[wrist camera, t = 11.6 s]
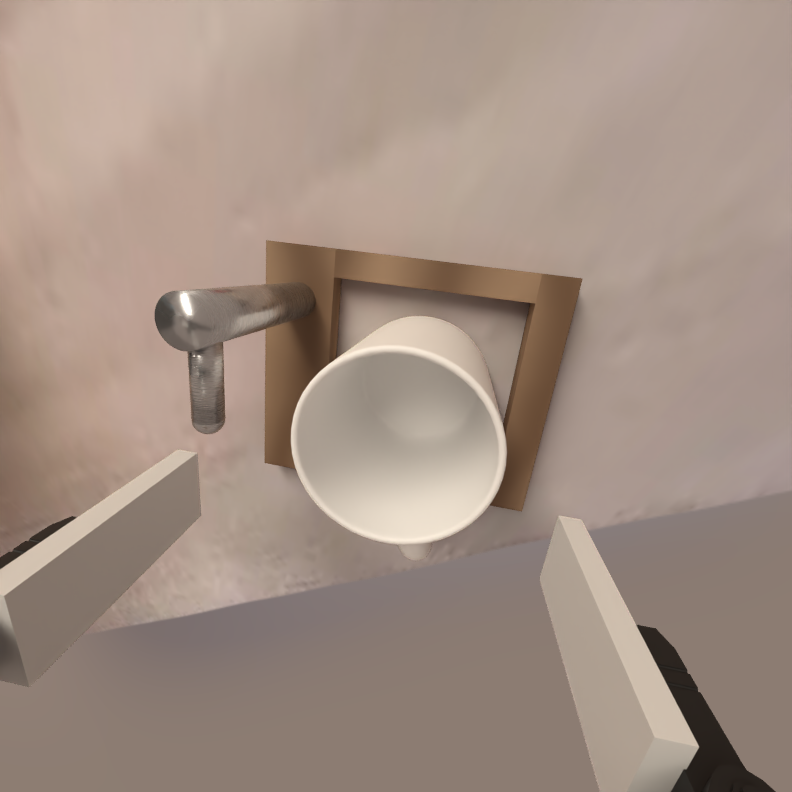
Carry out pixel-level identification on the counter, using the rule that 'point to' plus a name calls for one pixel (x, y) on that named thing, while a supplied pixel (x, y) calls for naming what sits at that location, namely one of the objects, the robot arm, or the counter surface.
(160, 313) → the hook post
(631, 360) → the counter surface
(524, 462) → the brown wooden u-shaped piece
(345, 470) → the mug
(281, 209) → the counter surface
